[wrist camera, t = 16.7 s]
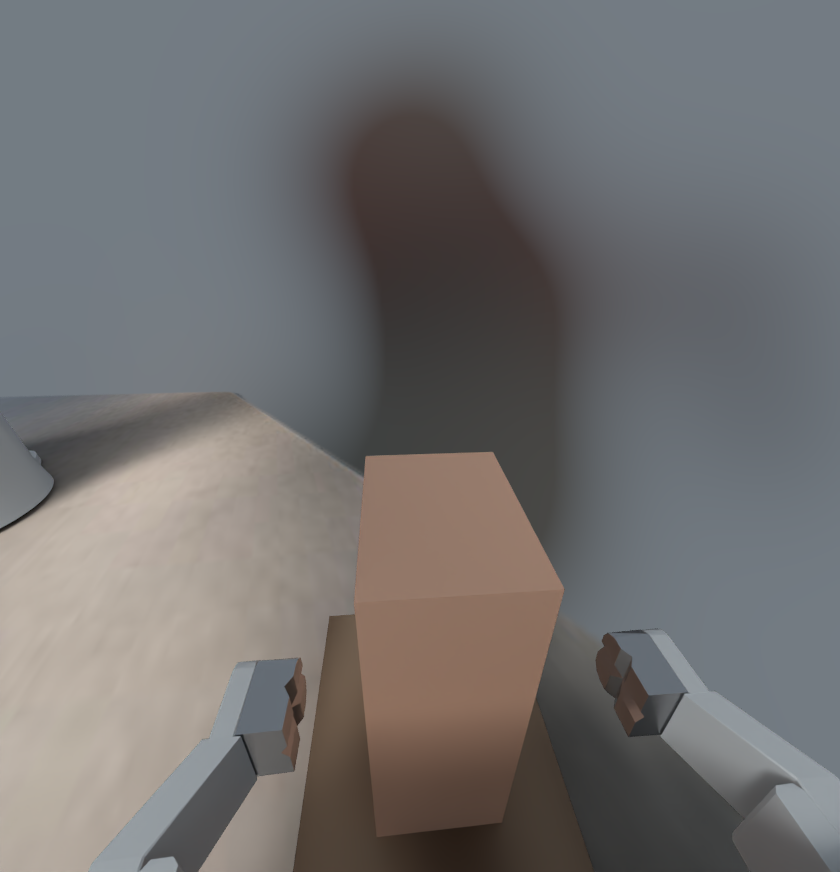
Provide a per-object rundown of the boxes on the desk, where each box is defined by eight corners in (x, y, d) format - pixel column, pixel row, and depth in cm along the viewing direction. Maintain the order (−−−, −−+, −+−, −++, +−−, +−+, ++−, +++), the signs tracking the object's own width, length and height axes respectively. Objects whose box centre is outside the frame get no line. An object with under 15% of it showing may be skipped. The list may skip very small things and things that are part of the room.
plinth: (290, 1018, 12) (274, 998, 10) (334, 650, 22) (329, 616, 21) (596, 972, 13) (620, 948, 11) (499, 638, 23) (504, 604, 22)
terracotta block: (376, 837, 13) (353, 603, 8) (378, 666, 19) (365, 455, 13) (501, 822, 14) (564, 589, 8) (468, 659, 19) (492, 451, 13)
